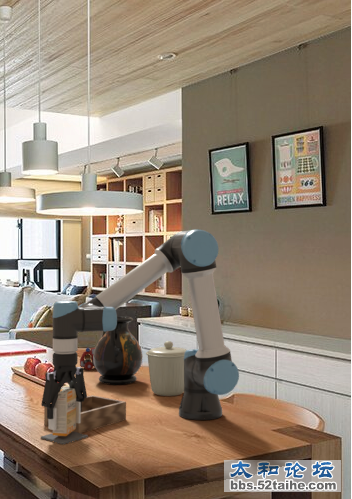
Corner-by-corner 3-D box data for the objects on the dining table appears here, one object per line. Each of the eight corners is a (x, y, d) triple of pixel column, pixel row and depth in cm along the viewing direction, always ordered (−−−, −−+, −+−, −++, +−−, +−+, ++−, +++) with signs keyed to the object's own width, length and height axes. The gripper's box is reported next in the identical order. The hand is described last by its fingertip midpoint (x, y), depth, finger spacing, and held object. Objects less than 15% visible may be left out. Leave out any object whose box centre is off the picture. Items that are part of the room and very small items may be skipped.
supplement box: (67, 436, 194) (67, 392, 194) (51, 435, 195) (52, 391, 195) (76, 429, 202) (77, 387, 202) (62, 428, 203) (62, 386, 203)
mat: (87, 437, 199) (87, 435, 199) (63, 444, 191) (63, 442, 191) (65, 431, 205) (65, 429, 205) (40, 438, 197) (40, 436, 197)
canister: (200, 393, 261) (200, 341, 261) (167, 400, 249) (167, 345, 249) (169, 387, 274) (169, 337, 274) (136, 393, 262) (136, 340, 262)
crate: (92, 412, 230) (92, 395, 230) (125, 419, 220) (126, 401, 220) (44, 425, 213) (44, 406, 213) (78, 433, 203) (78, 414, 203)
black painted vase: (136, 387, 273) (136, 320, 273) (86, 385, 276) (87, 319, 276) (146, 378, 294) (147, 315, 294) (100, 376, 297) (101, 314, 297)
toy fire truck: (78, 368, 318) (78, 347, 318) (103, 367, 322) (103, 345, 322) (81, 370, 311) (81, 349, 311) (106, 369, 315) (106, 347, 315)
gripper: (82, 346, 209) (81, 416, 209) (28, 355, 192) (28, 431, 192) (99, 349, 205) (98, 420, 205) (45, 357, 187) (45, 436, 187)
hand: (64, 425), depth 198 cm, fingers closed on supplement box, 9 cm apart
